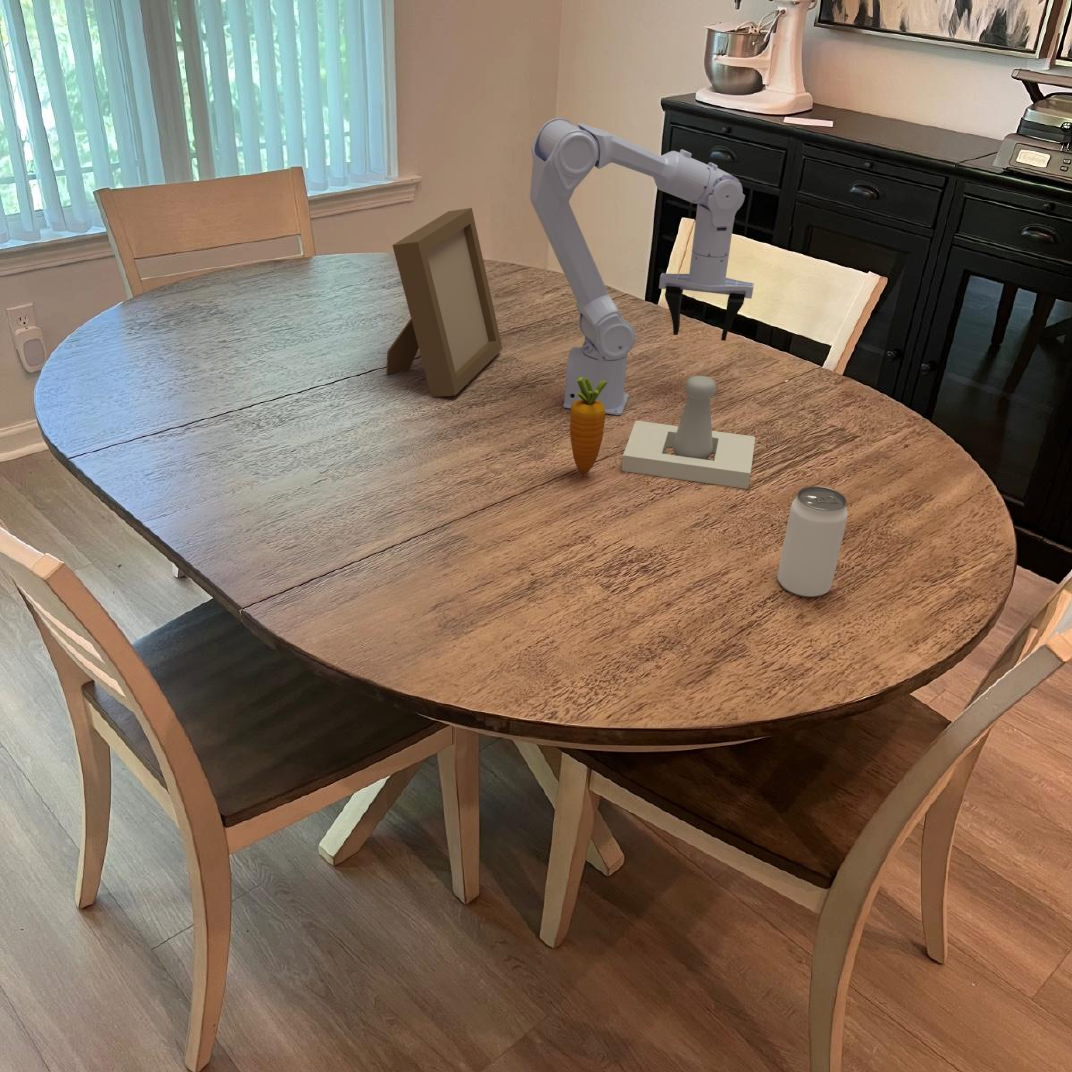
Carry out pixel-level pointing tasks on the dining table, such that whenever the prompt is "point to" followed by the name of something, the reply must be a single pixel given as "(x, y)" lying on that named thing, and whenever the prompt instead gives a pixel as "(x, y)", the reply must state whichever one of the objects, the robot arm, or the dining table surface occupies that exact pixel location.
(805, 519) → the can
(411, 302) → the photo frame
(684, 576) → the dining table surface
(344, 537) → the dining table surface
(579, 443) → the carrot
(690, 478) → the socket block
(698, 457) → the salt shaker
